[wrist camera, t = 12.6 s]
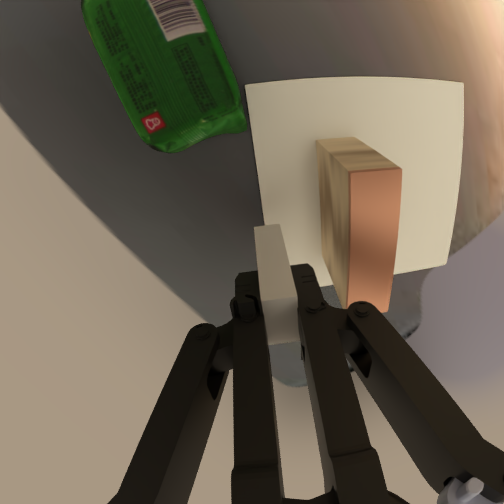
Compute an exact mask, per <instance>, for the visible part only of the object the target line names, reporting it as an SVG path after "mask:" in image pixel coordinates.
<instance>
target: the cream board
mask: <svg viewBox="0 0 504 504" xmlns="http://www.w3.org/2000/svg"><path fill="white" fill-rule="evenodd" d="M245 90H246V97H247V103H248V110H249V117H250V124H251V131H252V137H253V144H254V151H255V158H256V165H257V173H258V180H259V187H260V194H261V201H262V209H263V216H264V223H265V225H272V224H280V227H281V231H282V235H283V239H284V243H285V247H286V251H287V255H288V259H289V263H290V265H297V264H304V263H308V264H309V265H310V266H311V267H313V269H314V271H315V274H316V277H317V281H318V283H319V286H320V287H321V286H328V285H333V282H332V280H331V277H330V274H329V272H328V269H327V267H326V264H325V262H324V260H323V257H322V244H321V217H320V196H319V178H318V163H317V149H316V140H319V139H330V138H344V137H356V138H357V139H359V140H360V141H362V142H363V143H365V144H366V145H368V146H369V147H371V148H372V149H374V150H376V151H377V152H378V153H380V154H381V155H383V156H384V157H386V158H387V159H389V160H390V161H392V162H393V163H394V164H396V165H397V166H399V167H400V168H402V189H401V205H400V219H399V230H398V240H397V249H396V258H395V266H394V273H393V275H394V274H399V273H405V272H410V271H416V270H421V269H426V268H432V267H437V266H442V265H446V262H447V258H448V253H449V248H450V243H451V237H452V232H453V226H454V220H455V213H456V207H457V199H458V191H459V183H460V173H461V161H462V147H463V125H464V85H463V83H461V82H453V81H444V80H434V79H421V78H405V77H369V76H359V77H323V78H306V79H293V80H282V81H272V82H263V83H255V84H247V85H245Z"/></svg>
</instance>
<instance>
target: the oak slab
mask: <svg viewBox="0 0 504 504" xmlns="http://www.w3.org/2000/svg"><path fill="white" fill-rule="evenodd" d="M316 149H317V163H318V178H319V196H320V217H321V244H322V257H323V260H324V262H325V264H326V267H327V269H328V272H329V274H330V277H331V280H332V282H333V285H334V287H335V290H336V292H337V295H338V298H339V300H340V303H341V305H342V308H343V309H348V307H349V305H350V304H352V303H354V302H357V301H367V302H369V303H372V304H373V305H374V306H375V307H376V308H377V309H378V310H379V311H380V312H381V313H382V312H387V311H388V306H389V300H390V294H391V287H392V281H393V273H394V266H395V258H396V249H397V240H398V230H399V219H400V205H401V189H402V168H400V167H399V166H397V165H396V164H394V163H393V162H392V161H390V160H389V159H387V158H386V157H384V156H383V155H381V154H380V153H378V152H377V151H376V150H374V149H372V148H371V147H369V146H368V145H366V144H365V143H363V142H362V141H360V140H359V139H357V138H356V137H344V138H330V139H319V140H316Z"/></svg>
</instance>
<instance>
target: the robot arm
mask: <svg viewBox="0 0 504 504" xmlns="http://www.w3.org/2000/svg"><path fill="white" fill-rule="evenodd" d="M254 235H255V245H256V256H257V266H258V271H251V272H243V273H239V274H238V276H237V277H236V279H235V297H234V298H233V299H232V300H231V302H230V308H231V312H232V317H233V319H232V320H231V321H229V322H228V323H227V324H224V325H222V326H219V327H217V328H216V327H215V326H214V325H212V324H209V323H201V324H199V325H196V326H194V327H193V328H191V329H190V331H189V332H188V334H187V336H186V338H185V341H184V343H183V345H182V347H181V349H180V352H179V354H178V356H177V358H176V361H175V363H174V365H173V367H172V369H171V372H170V374H169V376H168V378H167V381H166V383H165V385H164V387H163V389H162V392H161V394H160V396H159V398H158V401H157V403H156V405H155V407H154V410H153V412H152V414H151V416H150V419H149V421H148V423H147V425H146V428H145V430H144V432H143V435H142V437H141V439H140V442H139V444H138V446H137V449H136V451H135V453H134V455H133V458H132V460H131V463H130V465H129V467H128V470H127V472H126V474H125V477H124V479H123V481H122V484H121V487H120V489H119V491H118V493H117V494H116V495H115V496H114V497H113V498H112V499H111V501H110V502H109V503H108V504H187V502H188V499H189V496H190V493H191V490H192V487H193V484H194V481H195V478H196V474H197V472H198V469H199V465H200V462H201V459H202V456H203V453H204V450H205V447H206V444H207V440H208V437H209V434H210V431H211V428H212V425H213V421H214V418H215V415H216V412H217V409H218V406H219V402H220V399H221V396H222V393H223V390H224V386H225V383H226V380H227V376H228V374H229V370H230V369H233V407H234V408H233V417H234V468H233V470H232V474H231V497H232V499H231V500H232V504H409V503H408V502H406V501H405V500H404V499H402V498H400V497H399V496H398V495H396V494H394V493H392V492H390V491H388V490H387V487H386V484H385V479H384V475H383V471H382V468H381V464H380V460H379V456H378V454H377V452H376V450H375V449H374V448H373V447H372V446H371V444H370V441H369V437H368V433H367V429H366V426H365V422H364V419H363V415H362V411H361V408H360V404H359V401H358V397H357V394H356V390H355V387H354V384H353V380H352V377H351V374H350V370H349V367H348V364H347V360H348V361H349V363H350V364H351V366H352V367H353V369H354V370H355V372H356V373H357V375H358V376H359V378H360V379H361V381H362V382H363V384H364V385H365V387H366V388H367V390H368V392H369V393H370V394H371V396H372V398H373V399H374V401H375V402H376V404H377V405H378V407H379V408H380V410H381V411H382V413H383V415H384V416H385V417H386V419H387V421H388V422H389V424H390V425H391V427H392V428H393V430H394V432H395V433H396V435H397V436H398V438H399V439H400V441H401V442H402V444H403V446H404V447H405V449H406V450H407V452H408V453H409V455H410V457H411V458H412V460H413V461H414V463H415V464H416V466H417V468H418V469H419V471H420V472H421V474H422V475H423V477H424V478H425V479H426V481H427V482H428V484H429V485H430V486H431V487H432V488H433V489H434V490H435V491H436V492H437V493H438V494H439V496H438V500H437V504H503V503H504V452H503V451H502V450H500V449H499V448H497V447H495V446H494V445H492V444H491V443H489V442H487V441H486V440H484V439H483V438H482V436H481V435H480V434H479V432H478V431H477V430H476V428H475V427H474V426H473V425H472V423H471V422H470V420H469V419H468V418H467V417H466V415H465V414H464V413H463V411H462V410H461V409H460V407H459V406H458V405H457V404H456V402H455V401H454V400H453V399H452V397H451V396H450V395H449V394H448V392H447V391H446V390H445V389H444V388H443V386H442V385H441V384H440V382H439V381H438V380H437V379H436V377H435V376H434V375H433V374H432V373H431V371H430V370H429V369H428V368H427V366H426V365H425V364H424V363H423V362H422V360H421V359H420V358H419V357H418V356H417V354H416V353H415V352H414V351H413V350H412V348H411V347H410V346H409V345H408V344H407V342H406V341H405V340H404V339H403V338H402V337H401V335H400V334H399V333H398V332H397V331H396V330H395V328H394V327H393V326H392V325H391V324H390V323H389V322H388V320H387V319H386V318H385V317H384V316H383V315H382V314H381V312H380V311H379V310H378V309H377V308H376V307H375V306H374V305H373V304H372V303H369V302H367V301H357V302H354V303H352V304H350V305H349V307H348V309H340V308H335V307H332V306H330V305H328V303H327V302H326V301H325V300H324V298H323V295H322V292H321V289H320V286H319V283H318V281H317V277H316V274H315V271H314V269H313V267H311V266H310V265H309V264H308V263H304V264H297V265H290V263H289V259H288V255H287V251H286V247H285V243H284V239H283V235H282V231H281V227H280V224H272V225H265V226H257V227H254ZM295 341H301V360H303V362H304V368H305V373H306V378H307V384H308V389H309V394H310V400H311V405H312V411H313V417H314V422H315V428H316V433H317V439H318V445H319V451H320V457H321V463H322V469H323V475H324V487H325V494H323V495H321V496H318V497H316V498H313V499H310V500H300V499H290V498H285V495H284V487H283V478H282V468H281V458H280V449H279V439H278V429H277V420H276V411H275V401H274V392H273V382H272V373H271V363H270V354H269V348H268V345H273V344H281V343H288V342H295ZM346 358H347V360H346Z"/></svg>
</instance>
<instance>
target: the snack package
mask: <svg viewBox="0 0 504 504" xmlns="http://www.w3.org/2000/svg"><path fill="white" fill-rule="evenodd" d="M81 8H82V13H83V18H84V21H85V24H86V27H87V29H88V32H89V34H90V37H91V39H92V41H93V44H94V46H95V48H96V50H97V52H98V54H99V56H100V58H101V61H102V63H103V65H104V67H105V69H106V71H107V73H108V75H109V77H110V79H111V82H112V84H113V86H114V88H115V89H116V91H117V93H118V96H119V98H120V100H121V102H122V104H123V106H124V108H125V110H126V112H127V114H128V116H129V118H130V120H131V122H132V124H133V126H134V128H135V130H136V131H137V133H138V135H139V136H140V137H141V139H142V140H143V141H144V142H145V143H146V144H147V145H149V146H150V147H151V148H153V149H155V150H157V151H161V152H166V153H176V152H180V151H183V150H185V149H187V148H188V147H190V146H192V145H194V144H196V143H198V142H200V141H202V140H205V139H207V138H210V137H213V136H216V135H220V134H226V133H235V134H237V133H241V132H244V131H246V130H247V120H246V117H245V113H244V109H243V104H242V100H241V95H240V91H239V87H238V83H237V81H236V78H235V75H234V73H233V71H232V69H231V66H230V64H229V62H228V60H227V57H226V55H225V52H224V50H223V48H222V45H221V43H220V41H219V39H218V36H217V34H216V31H215V29H214V27H213V24H212V22H211V19H210V17H209V14H208V12H207V10H206V8H205V5H204V3H203V0H81Z"/></svg>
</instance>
